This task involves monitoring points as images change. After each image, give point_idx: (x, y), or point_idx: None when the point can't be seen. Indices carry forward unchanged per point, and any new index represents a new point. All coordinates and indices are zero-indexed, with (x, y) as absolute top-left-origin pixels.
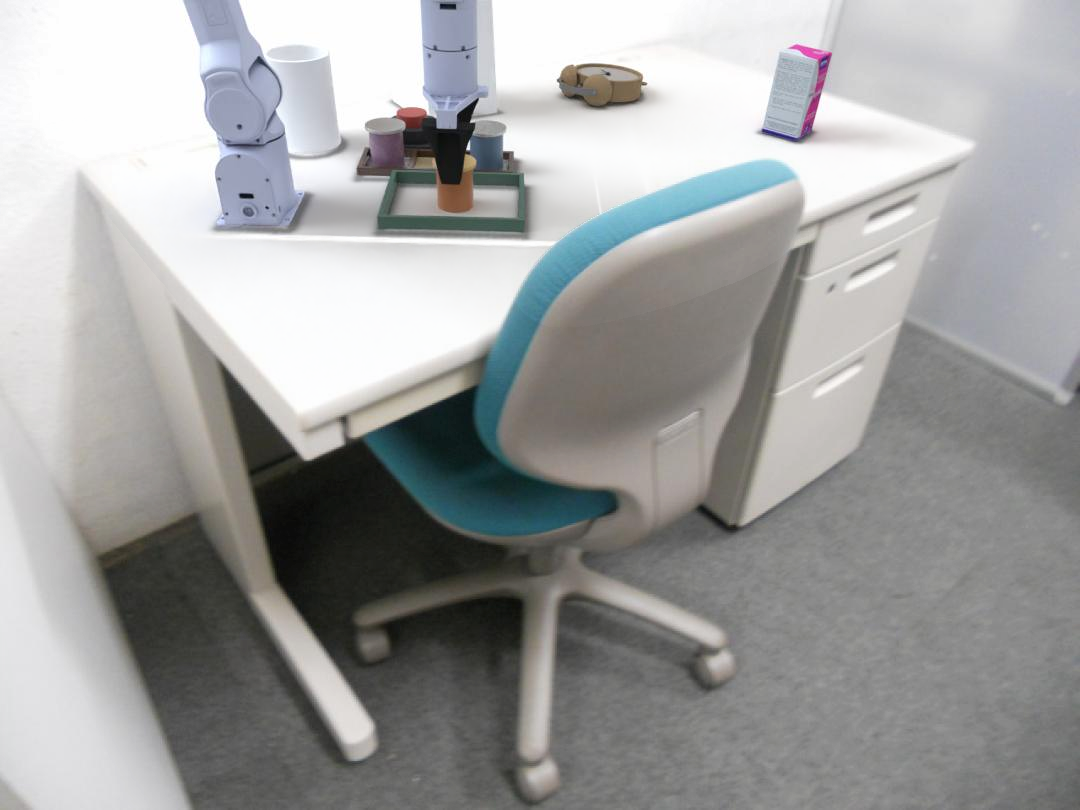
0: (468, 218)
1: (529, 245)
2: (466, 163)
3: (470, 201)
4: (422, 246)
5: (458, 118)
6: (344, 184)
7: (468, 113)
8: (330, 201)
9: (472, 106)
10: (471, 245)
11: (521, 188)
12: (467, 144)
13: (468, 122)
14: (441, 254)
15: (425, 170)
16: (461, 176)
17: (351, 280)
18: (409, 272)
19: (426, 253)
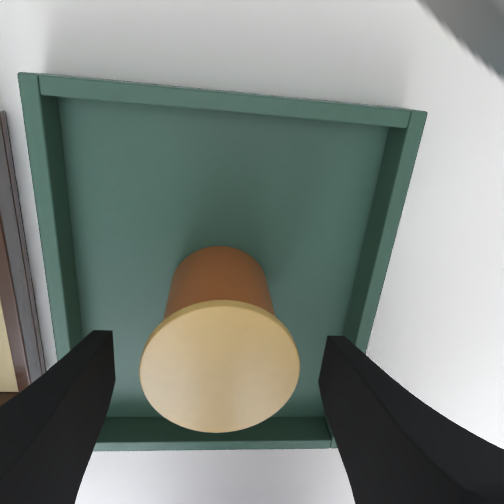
0: (385, 273)
1: (455, 95)
2: (246, 338)
3: (249, 263)
4: (400, 342)
5: (49, 478)
6: (94, 493)
7: (31, 467)
8: (181, 500)
9: (6, 494)
10: (419, 246)
11: (175, 98)
12: (484, 440)
13: (50, 422)
14: (445, 306)
15: (31, 377)
16: (359, 349)
17: (495, 432)
18: (499, 356)
19: (433, 333)
